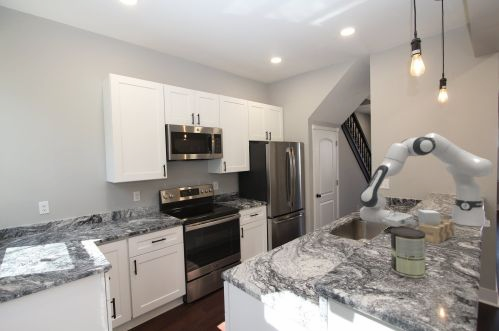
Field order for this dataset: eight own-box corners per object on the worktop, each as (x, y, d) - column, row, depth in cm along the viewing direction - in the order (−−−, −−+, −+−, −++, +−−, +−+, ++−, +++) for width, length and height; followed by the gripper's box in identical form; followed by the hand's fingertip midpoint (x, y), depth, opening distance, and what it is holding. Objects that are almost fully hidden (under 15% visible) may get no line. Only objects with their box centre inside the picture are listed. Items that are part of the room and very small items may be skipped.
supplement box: (441, 238, 122) (441, 212, 122) (424, 238, 124) (423, 212, 124) (434, 234, 129) (433, 210, 129) (417, 233, 131) (417, 209, 131)
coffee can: (384, 267, 91) (383, 228, 91) (407, 264, 94) (406, 226, 94) (409, 280, 81) (408, 236, 81) (433, 275, 84) (433, 233, 84)
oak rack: (435, 231, 134) (434, 218, 134) (453, 235, 127) (453, 221, 127) (418, 239, 122) (418, 225, 121) (438, 243, 115) (438, 228, 115)
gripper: (379, 215, 137) (407, 219, 125) (396, 210, 149) (423, 214, 137) (379, 226, 137) (407, 232, 125) (396, 221, 149) (423, 225, 138)
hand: (415, 222), depth 132 cm, fingers closed
